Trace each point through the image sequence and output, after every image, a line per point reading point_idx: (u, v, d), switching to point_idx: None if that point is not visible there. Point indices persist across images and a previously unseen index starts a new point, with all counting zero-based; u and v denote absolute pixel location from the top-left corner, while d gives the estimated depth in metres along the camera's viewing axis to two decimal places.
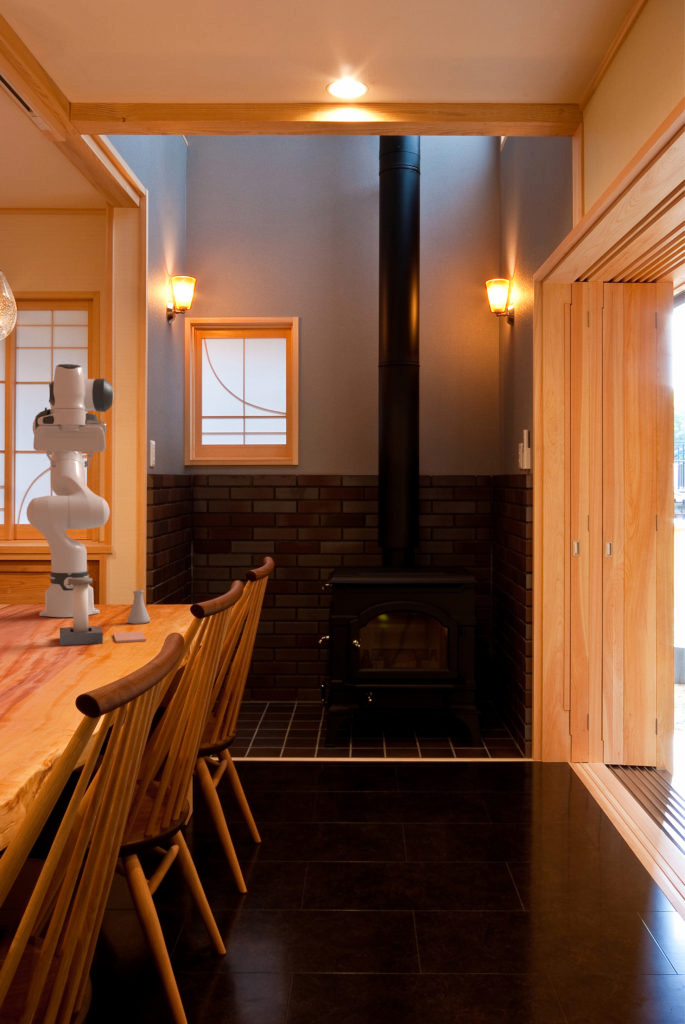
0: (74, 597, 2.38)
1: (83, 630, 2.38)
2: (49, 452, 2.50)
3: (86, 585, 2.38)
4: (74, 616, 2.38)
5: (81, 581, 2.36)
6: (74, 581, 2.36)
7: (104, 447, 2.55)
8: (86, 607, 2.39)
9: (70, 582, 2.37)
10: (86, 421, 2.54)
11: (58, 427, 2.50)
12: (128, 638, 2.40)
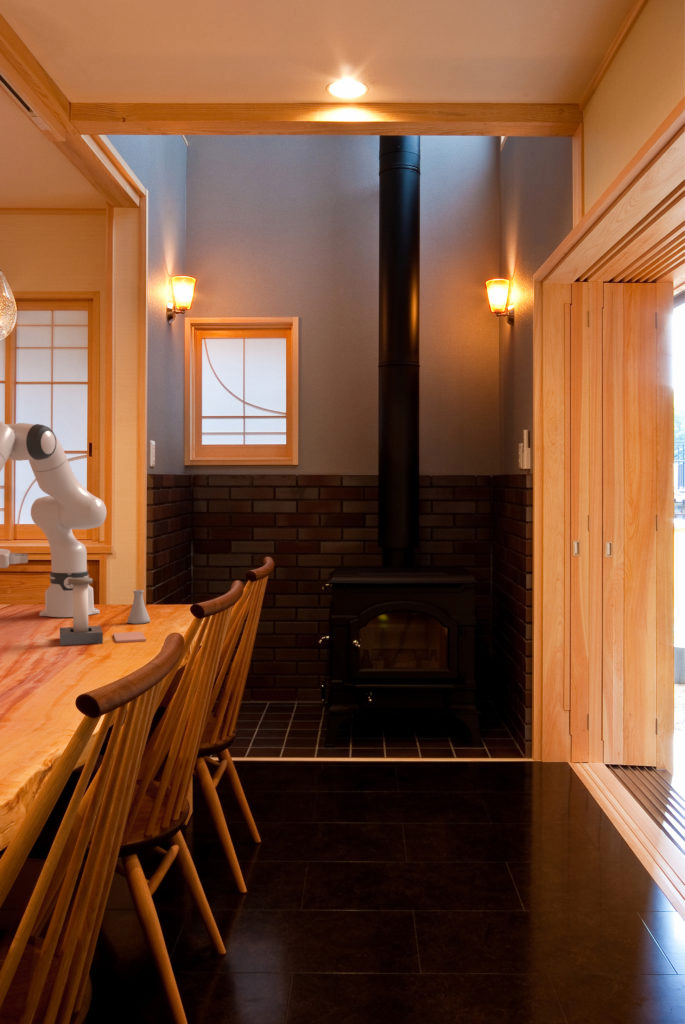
0: (74, 597, 2.38)
1: (83, 630, 2.38)
2: None
3: (86, 585, 2.38)
4: (74, 616, 2.38)
5: (81, 581, 2.36)
6: (74, 581, 2.36)
7: (3, 567, 2.23)
8: (86, 607, 2.39)
9: (70, 582, 2.37)
10: None
11: None
12: (128, 638, 2.40)
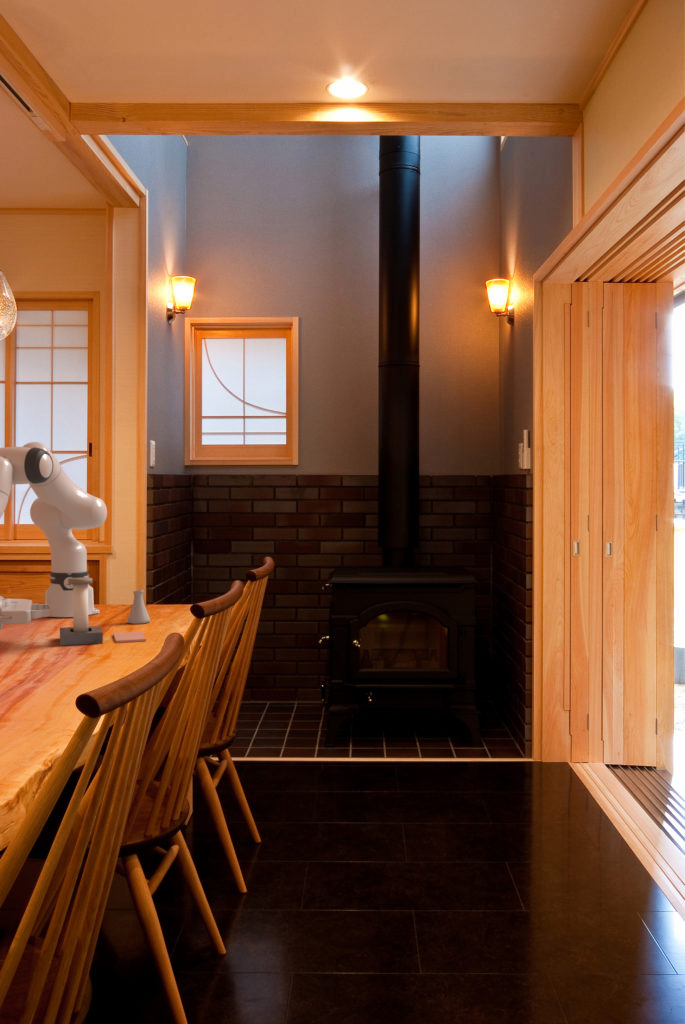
0: (74, 597, 2.38)
1: (83, 630, 2.38)
2: None
3: (86, 585, 2.38)
4: (74, 616, 2.38)
5: (81, 581, 2.36)
6: (74, 581, 2.36)
7: (25, 623, 2.26)
8: (86, 607, 2.39)
9: (70, 582, 2.37)
10: None
11: None
12: (128, 638, 2.40)
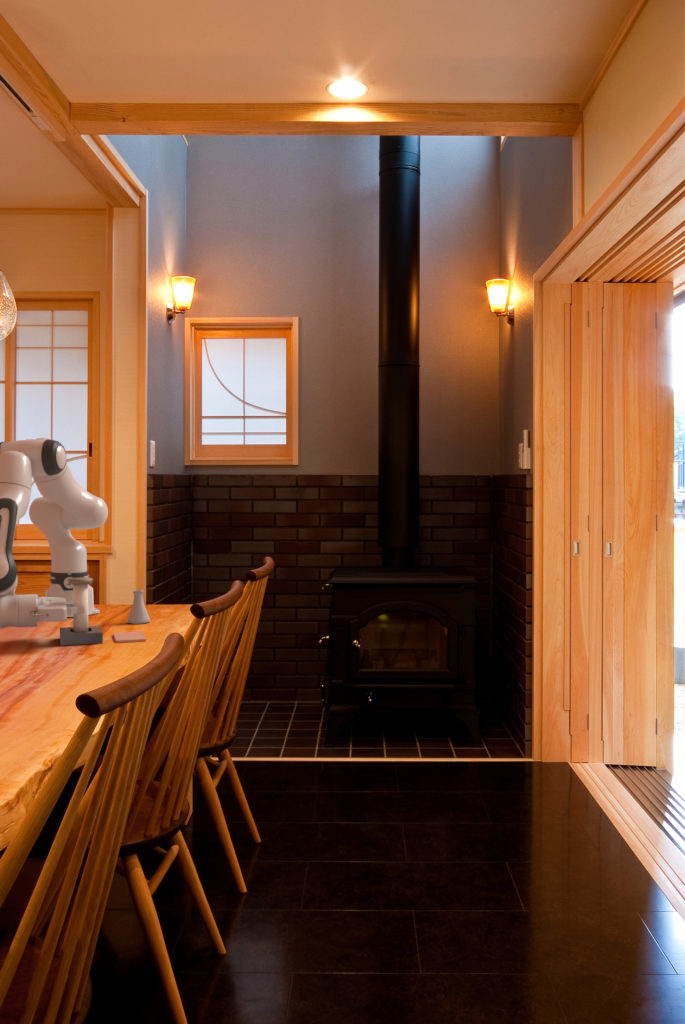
0: (74, 597, 2.38)
1: (83, 630, 2.38)
2: None
3: (86, 585, 2.38)
4: (74, 616, 2.38)
5: (81, 581, 2.36)
6: (74, 581, 2.36)
7: None
8: (86, 607, 2.39)
9: (70, 582, 2.37)
10: None
11: None
12: (128, 638, 2.40)
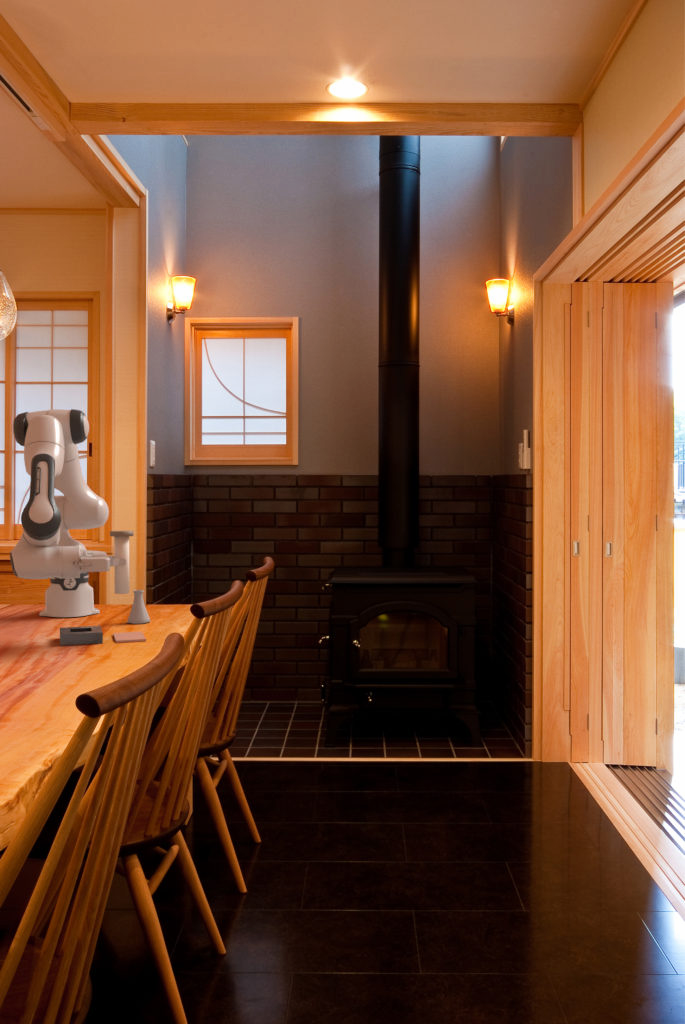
0: (116, 549, 2.41)
1: (124, 582, 2.41)
2: None
3: (127, 538, 2.41)
4: (115, 568, 2.41)
5: (123, 533, 2.39)
6: (116, 533, 2.39)
7: None
8: (127, 559, 2.42)
9: (112, 534, 2.40)
10: None
11: None
12: (128, 638, 2.40)
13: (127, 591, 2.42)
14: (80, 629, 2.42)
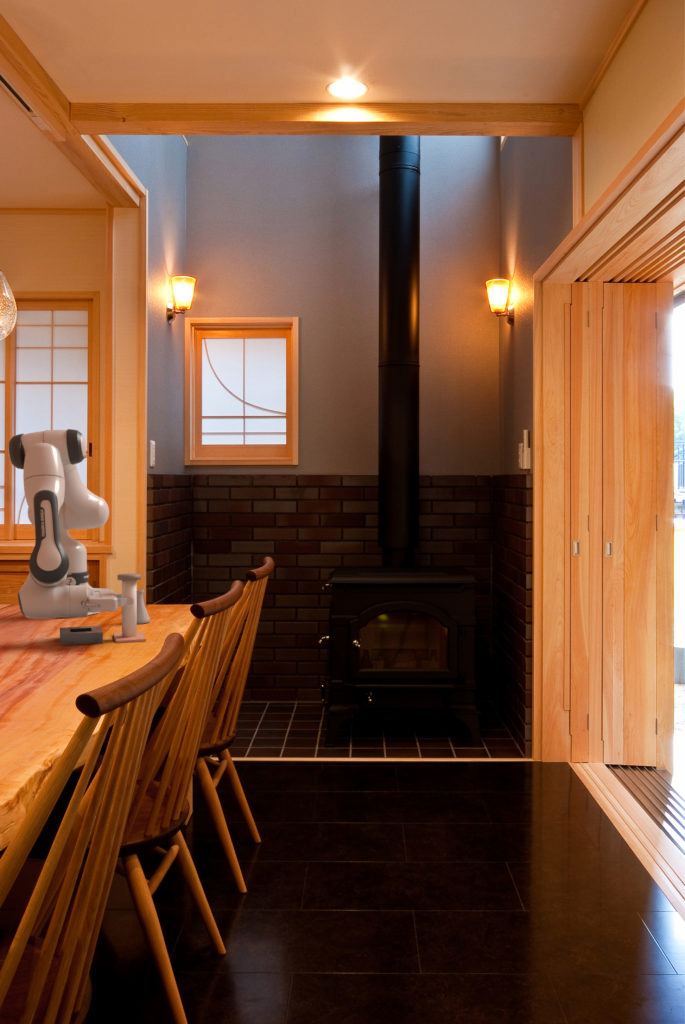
0: (123, 593, 2.42)
1: (132, 625, 2.42)
2: None
3: (135, 581, 2.43)
4: (123, 611, 2.42)
5: (130, 577, 2.40)
6: (124, 577, 2.40)
7: None
8: (135, 603, 2.43)
9: (119, 578, 2.41)
10: None
11: None
12: (128, 638, 2.40)
13: (134, 634, 2.43)
14: (80, 629, 2.42)
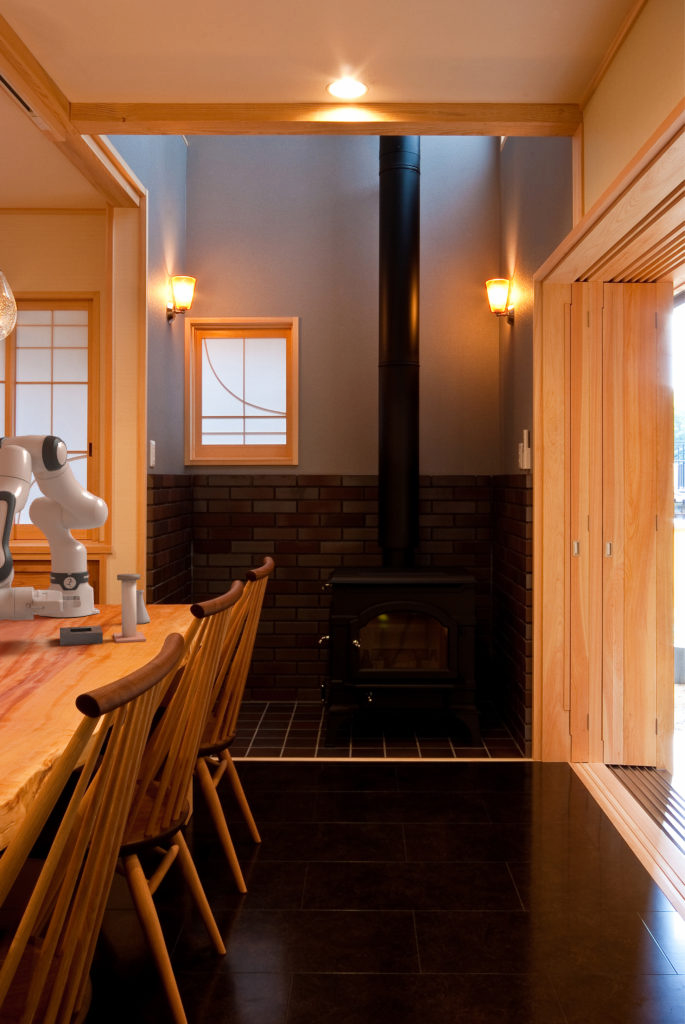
0: (123, 593, 2.42)
1: (132, 625, 2.42)
2: None
3: (134, 581, 2.43)
4: (123, 611, 2.42)
5: (130, 577, 2.40)
6: (123, 577, 2.40)
7: (58, 613, 2.28)
8: (134, 603, 2.43)
9: (119, 578, 2.41)
10: None
11: None
12: (128, 638, 2.40)
13: (134, 634, 2.43)
14: (80, 629, 2.42)
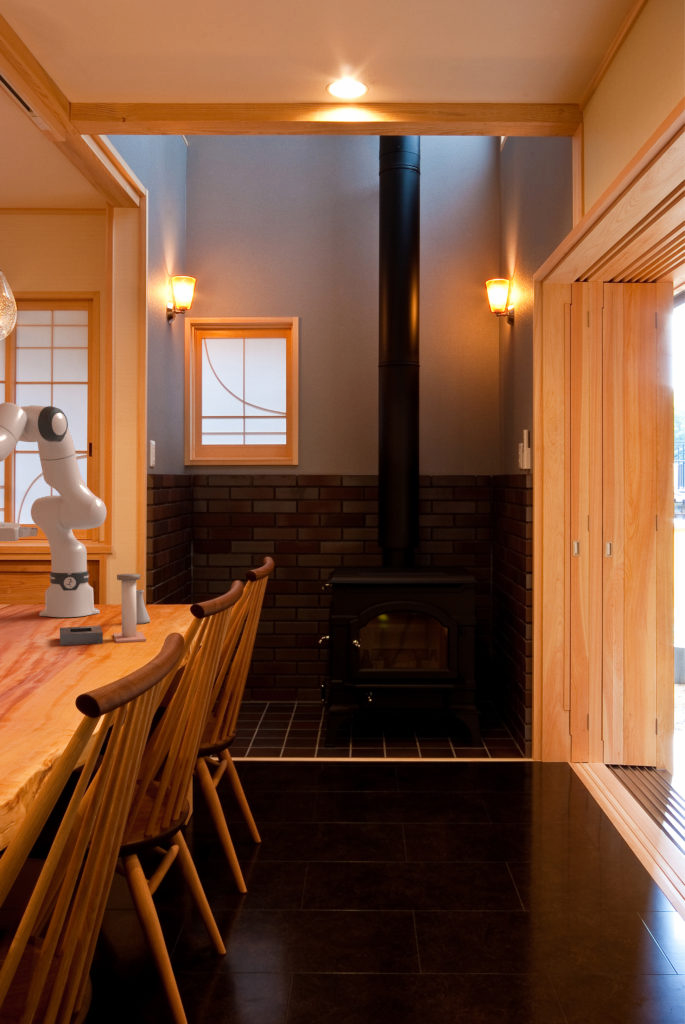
0: (123, 593, 2.42)
1: (132, 625, 2.42)
2: None
3: (134, 581, 2.43)
4: (123, 611, 2.42)
5: (130, 577, 2.40)
6: (123, 577, 2.40)
7: (13, 540, 2.30)
8: (134, 603, 2.43)
9: (119, 578, 2.41)
10: None
11: None
12: (128, 638, 2.40)
13: (134, 634, 2.43)
14: (80, 629, 2.42)
